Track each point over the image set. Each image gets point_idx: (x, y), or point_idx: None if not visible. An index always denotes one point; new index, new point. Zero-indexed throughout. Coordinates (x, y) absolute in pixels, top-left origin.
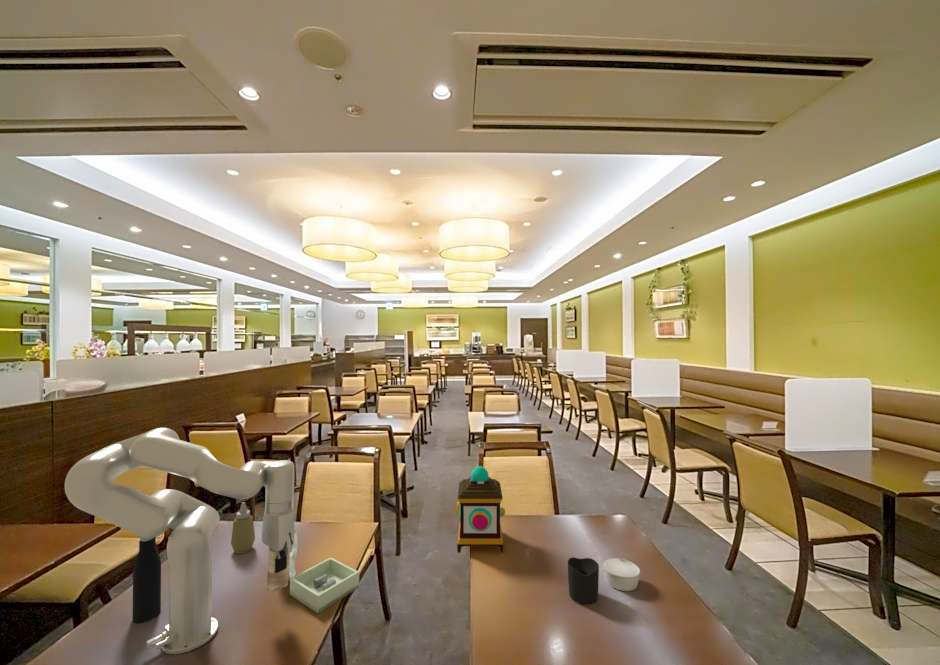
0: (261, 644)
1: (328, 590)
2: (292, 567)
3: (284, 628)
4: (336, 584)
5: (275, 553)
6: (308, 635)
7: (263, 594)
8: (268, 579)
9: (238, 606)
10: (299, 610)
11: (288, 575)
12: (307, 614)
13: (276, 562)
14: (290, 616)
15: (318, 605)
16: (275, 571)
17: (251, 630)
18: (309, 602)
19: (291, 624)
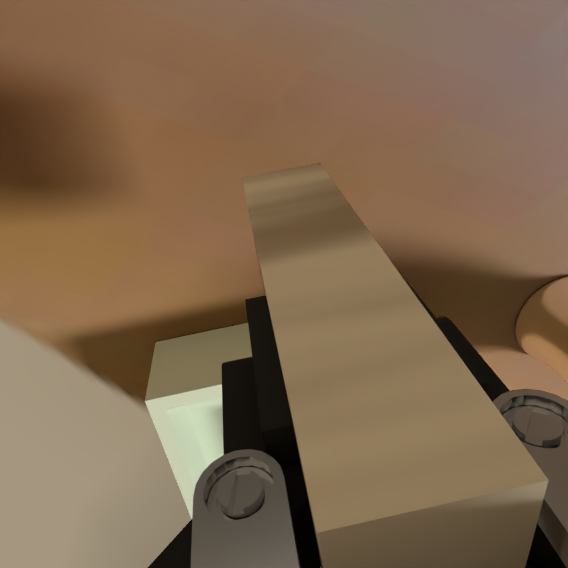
0: (85, 25)
1: (165, 450)
2: (557, 369)
3: (148, 180)
4: (186, 490)
5: (314, 524)
6: (4, 256)
7: (526, 187)
8: (320, 204)
9: (550, 37)
10: (244, 284)
11: (536, 330)
12: (183, 303)
13: (259, 393)
14: (228, 236)
15: (152, 367)
16: (254, 303)
17: (264, 22)
18: (231, 341)
19: (157, 219)
